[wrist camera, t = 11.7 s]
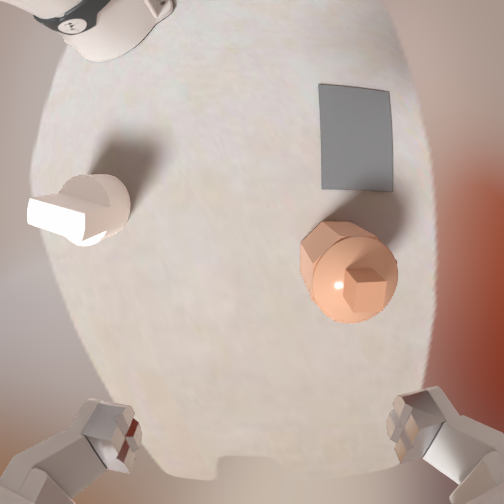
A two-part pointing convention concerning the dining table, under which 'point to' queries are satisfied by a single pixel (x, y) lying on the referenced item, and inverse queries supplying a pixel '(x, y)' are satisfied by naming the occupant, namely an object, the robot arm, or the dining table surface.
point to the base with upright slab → (83, 209)
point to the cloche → (347, 271)
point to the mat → (355, 139)
